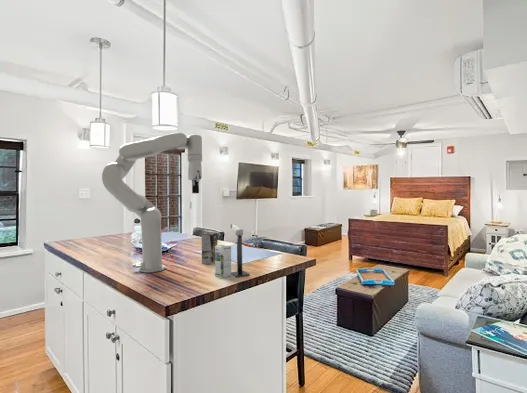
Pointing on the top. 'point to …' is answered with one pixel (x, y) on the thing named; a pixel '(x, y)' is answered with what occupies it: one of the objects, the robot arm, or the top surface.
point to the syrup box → (222, 261)
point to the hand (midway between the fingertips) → (195, 193)
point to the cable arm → (237, 229)
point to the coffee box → (208, 248)
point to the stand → (239, 260)
